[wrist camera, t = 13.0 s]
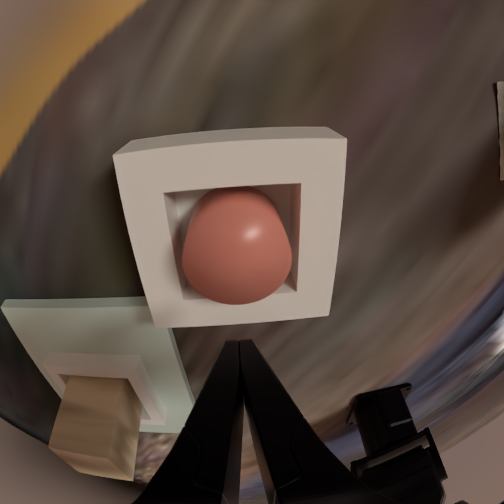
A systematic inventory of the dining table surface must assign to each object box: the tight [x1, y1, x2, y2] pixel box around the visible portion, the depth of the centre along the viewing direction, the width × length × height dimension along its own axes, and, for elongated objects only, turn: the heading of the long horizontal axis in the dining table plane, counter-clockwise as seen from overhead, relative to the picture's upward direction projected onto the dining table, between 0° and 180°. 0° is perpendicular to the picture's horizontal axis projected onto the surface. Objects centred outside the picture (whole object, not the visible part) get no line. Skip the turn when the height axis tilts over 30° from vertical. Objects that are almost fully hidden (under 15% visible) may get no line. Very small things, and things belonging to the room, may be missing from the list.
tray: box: [0, 296, 195, 433], centre depth 23 cm, size 18×14×2 cm
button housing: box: [113, 127, 347, 328], centre depth 16 cm, size 10×10×3 cm
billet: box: [48, 375, 143, 481], centre depth 20 cm, size 5×5×8 cm
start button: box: [182, 186, 292, 305], centre depth 15 cm, size 5×5×3 cm
